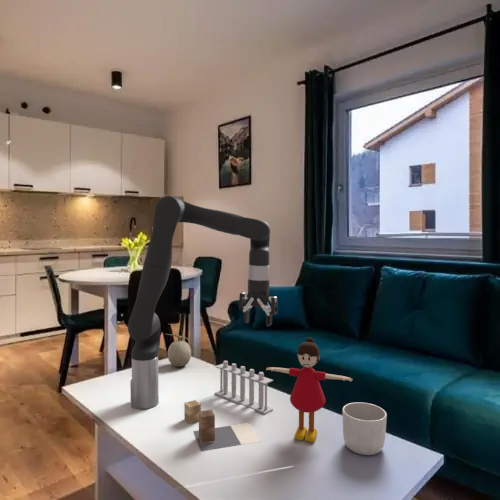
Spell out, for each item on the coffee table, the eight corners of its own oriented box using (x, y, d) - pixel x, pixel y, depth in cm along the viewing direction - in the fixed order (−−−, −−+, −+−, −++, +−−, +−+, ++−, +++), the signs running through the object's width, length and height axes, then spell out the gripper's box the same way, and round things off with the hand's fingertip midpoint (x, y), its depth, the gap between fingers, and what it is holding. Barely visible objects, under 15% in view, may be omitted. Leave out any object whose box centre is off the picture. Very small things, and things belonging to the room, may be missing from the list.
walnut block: (201, 443, 124) (201, 417, 123) (198, 437, 127) (198, 411, 127) (214, 441, 125) (214, 415, 124) (211, 435, 129) (211, 409, 128)
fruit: (197, 365, 192) (197, 332, 191) (177, 371, 184) (177, 338, 183) (182, 360, 199) (182, 328, 198) (162, 366, 191) (162, 333, 190)
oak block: (189, 425, 136) (189, 407, 135) (184, 420, 139) (184, 402, 139) (200, 422, 138) (200, 404, 137) (195, 417, 141) (195, 399, 141)
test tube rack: (273, 410, 147) (273, 373, 146) (264, 415, 143) (265, 377, 142) (222, 391, 163) (223, 357, 162) (214, 394, 160) (214, 360, 159)
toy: (260, 435, 129) (261, 339, 127) (271, 419, 140) (272, 330, 138) (349, 452, 120) (351, 348, 118) (353, 434, 130) (355, 339, 128)
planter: (340, 455, 118) (341, 418, 118) (342, 434, 130) (343, 400, 130) (386, 462, 115) (387, 423, 114) (384, 440, 127) (385, 404, 126)
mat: (200, 452, 120) (200, 451, 119) (193, 432, 131) (193, 431, 131) (260, 442, 125) (260, 441, 125) (248, 424, 136) (248, 422, 136)
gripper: (235, 277, 146) (234, 323, 147) (272, 281, 139) (270, 329, 140) (246, 275, 152) (245, 319, 153) (282, 278, 145) (280, 325, 146)
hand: (257, 324), depth 147 cm, fingers open, 8 cm apart
